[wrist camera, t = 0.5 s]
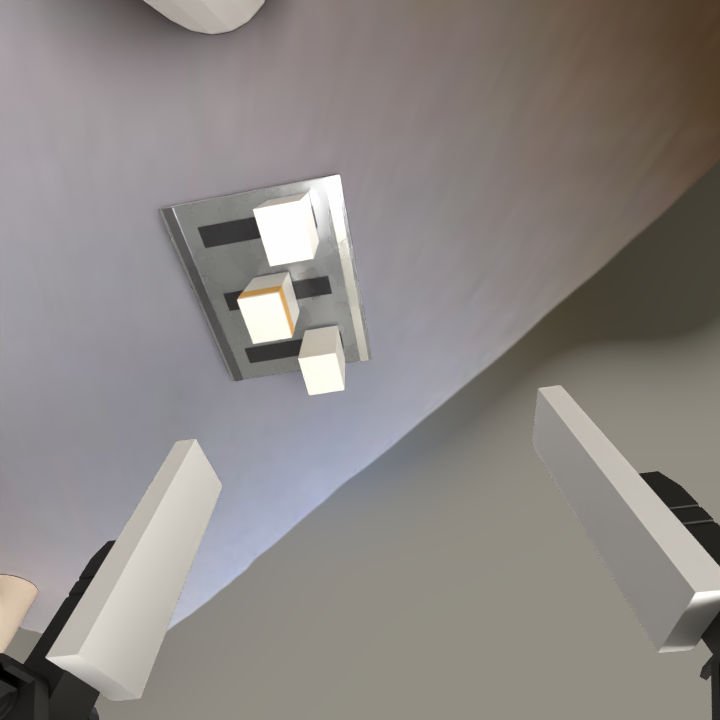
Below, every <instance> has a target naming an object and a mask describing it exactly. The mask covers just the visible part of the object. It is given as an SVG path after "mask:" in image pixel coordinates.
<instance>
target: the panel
mask: <svg viewBox="0 0 720 720" xmlns="http://www.w3.org/2000/svg"><path fill="white" fill-rule="evenodd" d="M307 192H308V194H309V199H310V203H311V208H312V212H313V217H314V221H315V226H316V230H317V235H318V239H319V243H318V246H317V250H316V253H315V256H314V259H308V260H303V261H297V262H291V263H286V264H280V265H274V266H270V264H269V261H268V258H267V254H266V251H265V248H264V244H263V241H262V238H261V235H260V231H259V228H258V225H257V221H256V218H255V215H254V211H253V209H255V208H256V207H258V206H259V205H261V204H263V203H264V202H266V201H267V200H270V199H275V198H280V197H286V196H291V195H296V194H302V193H307ZM159 212H160V215H161V217H162V219H163V222H164V224H165V226H166V228H167V231H168V233H169V235H170V238H171V240H172V242H173V245H174V247H175V249H176V252H177V254H178V256H179V258H180V261H181V263H182V265H183V268H184V270H185V272H186V275H187V277H188V279H189V282H190V284H191V286H192V289H193V291H194V293H195V295H196V298H197V300H198V302H199V305H200V307H201V309H202V312H203V314H204V316H205V319H206V321H207V323H208V326H209V328H210V330H211V332H212V335H213V337H214V339H215V342H216V344H217V346H218V349H219V351H220V353H221V356H222V358H223V360H224V362H225V365H226V367H227V369H228V372H229V374H230V376H231V379H232V381H239V380H243V379H248V378H255V377H261V376H267V375H274V374H280V373H286V372H293V371H299V370H301V367H300V363H299V360H298V357H299V353H300V349H301V345H302V341H303V337H304V333H305V331H306V330H312V329H318V328H324V327H330V326H336V325H338V330H339V334H340V339H341V343H342V348H343V352H344V357H345V363H350V362H356V361H367V360H369V359H372V357H371V348H370V342H369V337H368V331H367V325H366V319H365V314H364V308H363V302H362V296H361V291H360V285H359V279H358V273H357V268H356V262H355V256H354V250H353V245H352V239H351V233H350V227H349V222H348V216H347V210H346V204H345V199H344V193H343V187H342V181H341V176H340V174H335V175H329V176H324V177H319V178H314V179H309V180H303V181H298V182H293V183H288V184H283V185H277V186H272V187H267V188H262V189H256V190H251V191H246V192H241V193H236V194H230V195H225V196H220V197H215V198H210V199H204V200H199V201H194V202H189V203H183V204H178V205H173V206H169V207H165V208H162V209H159ZM283 272H289V275H290V278H291V282H292V286H293V289H294V293H295V296H296V300H297V304H298V307H299V311H300V312H299V315H298V319H297V322H296V325H295V328H294V329H295V330H294V333H293V336H292V338H287V339H280V340H274V341H268V342H262V343H256V344H253V342H252V339H251V336H250V334H249V331H248V328H247V326H246V323H245V320H244V318H243V315H242V312H241V309H240V307H239V304H238V301H237V299H238V297H239V296H240V294H241V293H242V292H243V291H244V290H245V288H246V287H247V286H248V284H249V283H250V282H251V280H252V279H253V278H255V277H261V276H266V275H272V274H278V273H283Z"/></svg>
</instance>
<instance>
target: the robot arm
mask: <svg viewBox="0 0 720 720" xmlns="http://www.w3.org/2000/svg"><path fill="white" fill-rule="evenodd" d="M532 445H533V447H534V449H535V450H536V452H537V454H538V455H539V457H540V459H541V460H542V462H543V464H544V465H545V467H546V469H547V470H548V472H549V474H550V475H551V477H552V479H553V480H554V482H555V483H556V485H557V487H558V488H559V490H560V492H561V493H562V495H563V497H564V498H565V500H566V502H567V503H568V505H569V507H570V508H571V510H572V511H573V513H574V515H575V517H576V518H577V520H578V522H579V523H580V525H581V527H582V528H583V530H584V531H585V533H586V535H587V536H588V538H589V540H590V541H591V543H592V545H593V546H594V548H595V550H596V551H597V553H598V555H599V556H600V558H601V560H602V561H603V563H604V565H605V566H606V568H607V570H608V571H609V573H610V575H611V576H612V578H613V579H614V581H615V583H616V584H617V586H618V587H619V589H620V591H621V593H622V594H623V596H624V598H625V599H626V601H627V603H628V604H629V606H630V608H631V609H632V611H633V612H634V614H635V616H636V618H637V619H638V621H639V622H640V624H641V626H642V627H643V629H644V631H645V632H646V634H647V636H648V637H649V639H650V641H651V642H652V644H653V646H654V647H655V649H656V651H657V652H658V653H660V652H671V651H683V650H693V649H694V647H695V646H696V645H697V643H698V642H699V641H700V639H701V638H702V639H703V641H704V642H705V643H706V645H707V646H708V648H709V649H710V651H711V652H712V653H713V655H712V657H711V658H710V659H709V660H708V661H707V663H706V664H705V665H704V666H703V667H702V671H701V674H700V677H702V678H704V679H706V680H707V679H708V678H709V676H711V686H712V720H720V526H719V525H718V523H715V522H714V521H713V518H712V517H711V516H710V515H709V514H708V513H707V512H706V511H705V510H704V509H703V508H702V507H701V508H700V507H699V505H698V503H697V502H696V501H695V500H694V499H693V498H692V497H691V496H690V495H689V494H688V493H687V492H686V491H685V490H684V489H683V488H682V486H680V485H678V484H677V483H675V482H674V481H672V480H671V479H669V478H668V477H666V476H665V475H663V474H661V473H660V472H658V471H656V472H648V473H641V474H638V473H637V472H636V471H635V470H634V468H633V467H632V466H631V465H630V464H629V463H628V462H627V460H626V459H625V458H624V457H623V456H622V455H621V454H620V452H619V451H618V450H617V449H616V448H615V447H614V446H613V445H612V443H611V442H610V441H609V440H608V439H607V438H606V436H605V435H604V434H603V433H602V432H601V431H600V430H599V429H598V427H597V426H596V425H595V424H594V423H593V422H592V421H591V420H590V418H589V417H588V416H587V415H586V414H585V413H584V411H583V410H582V409H581V408H580V407H579V406H578V405H577V403H575V401H574V400H573V399H572V398H571V397H570V395H569V394H568V393H567V392H566V391H565V390H564V389H563V388H562V386H561V385H558V386H551V387H544V388H538V394H537V403H536V412H535V422H534V430H533V440H532ZM221 489H222V484H221V483H220V481H219V479H218V477H217V476H216V474H215V472H214V470H213V468H212V467H211V465H210V463H209V461H208V460H207V458H206V456H205V454H204V453H203V451H202V449H201V447H200V446H199V444H198V442H197V440H196V438H195V439H188V440H181V441H176V443H175V444H174V446H173V448H172V449H171V451H170V453H169V454H168V456H167V458H166V459H165V461H164V463H163V464H162V466H161V468H160V469H159V471H158V472H157V474H156V476H155V477H154V479H153V481H152V482H151V484H150V486H149V487H148V489H147V491H146V492H145V494H144V496H143V497H142V499H141V501H140V502H139V504H138V506H137V507H136V509H135V510H134V512H133V514H132V515H131V517H130V519H129V520H128V522H127V524H126V525H125V527H124V529H123V530H122V532H121V534H120V535H119V537H118V539H117V540H114V541H108V542H107V543H106V544H105V545H104V546H103V547H102V548H101V549H100V550H99V551H98V552H97V553H96V554H95V555H94V556H93V557H92V558H91V560H90V561H89V563H88V565H87V566H86V568H85V569H84V571H83V572H82V574H81V576H80V577H79V581H77V582H76V583H75V585H74V586H73V588H72V590H71V591H70V593H69V597H68V598H66V599H65V601H64V602H63V604H62V605H61V607H60V608H59V610H58V611H57V613H56V615H55V616H54V618H53V619H52V621H51V622H50V624H49V626H48V627H47V629H46V630H45V632H44V633H43V635H42V637H41V638H40V640H39V641H38V643H37V644H36V646H35V648H34V649H33V651H32V652H31V654H30V655H29V657H28V659H27V660H26V661H25V663H24V664H21V663H20V662H18V661H16V660H14V659H13V658H11V657H9V656H8V655H5V654H3V653H0V720H99V715H98V713H97V710H96V708H95V707H94V705H95V702H96V700H97V698H98V696H99V693H101V694H102V695H104V696H106V697H107V698H109V699H110V700H112V701H118V700H129V699H140V697H141V695H142V692H143V690H144V687H145V685H146V682H147V679H148V677H149V674H150V672H151V669H152V667H153V664H154V661H155V659H156V656H157V654H158V651H159V648H160V646H161V643H162V640H163V638H164V635H165V633H166V631H167V628H168V625H169V623H170V620H171V618H172V615H173V612H174V610H175V607H176V605H177V602H178V600H179V597H180V594H181V592H182V589H183V587H184V584H185V582H186V579H187V576H188V574H189V571H190V569H191V566H192V564H193V561H194V558H195V556H196V553H197V551H198V548H199V545H200V543H201V540H202V538H203V535H204V533H205V530H206V527H207V525H208V522H209V520H210V517H211V515H212V512H213V509H214V507H215V504H216V502H217V499H218V497H219V494H220V491H221Z"/></svg>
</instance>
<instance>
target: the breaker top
mask: <svg viewBox="0 0 720 720" xmlns="http://www.w3.org/2000/svg"><path fill="white" fill-rule="evenodd" d="M253 211H254V215H255V218H256V221H257V225H258V228H259V231H260V235H261V238H262V241H263V244H264V248H265V251H266V254H267V258H268V261H269V264H270V266H274V265H280V264H286V263H291V262H297V261H303V260H308V259H314V256H315V253H316V250H317V246H318V243H319V239H318V235H317V230H316V226H315V221H314V217H313V212H312V208H311V203H310V199H309V194H308V192H307V193H302V194H296V195H291V196H286V197H280V198H275V199H270V200H267V201H266V202H264V203H263V204H261V205H259V206H258V207H256V208H255V209H253Z"/></svg>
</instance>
